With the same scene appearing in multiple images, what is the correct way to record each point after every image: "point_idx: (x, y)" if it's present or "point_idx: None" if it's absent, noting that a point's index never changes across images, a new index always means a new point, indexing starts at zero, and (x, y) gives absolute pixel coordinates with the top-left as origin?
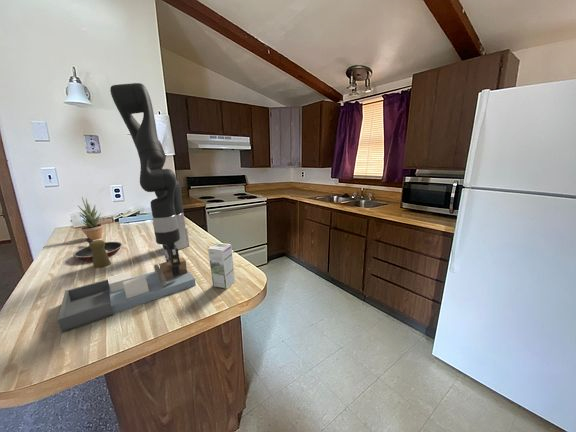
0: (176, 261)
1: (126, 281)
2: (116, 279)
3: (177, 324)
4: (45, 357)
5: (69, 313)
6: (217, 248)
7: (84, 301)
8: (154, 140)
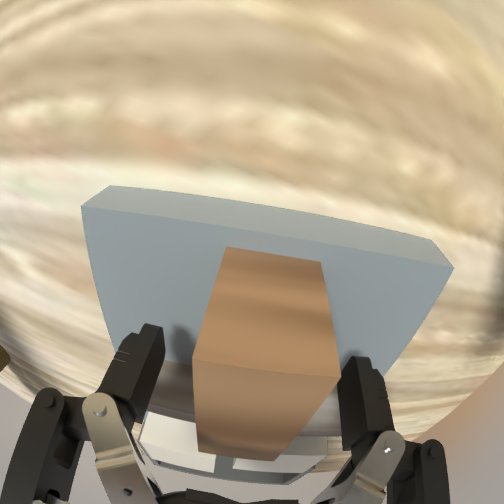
0: (361, 462)
1: (237, 466)
2: (191, 464)
3: (499, 360)
4: (338, 463)
5: (228, 457)
6: None
7: None
8: None
